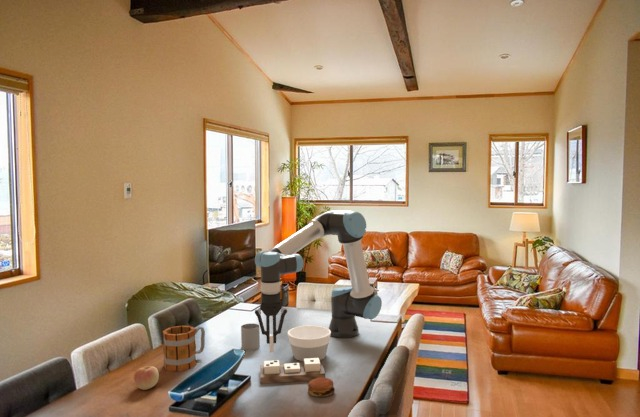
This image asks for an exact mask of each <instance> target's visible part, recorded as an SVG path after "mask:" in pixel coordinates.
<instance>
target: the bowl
mask: <svg viewBox="0 0 640 417" xmlns="http://www.w3.org/2000/svg"><path fill="white" fill-rule="evenodd" d="M286 334H287V336H288V341H289V344H290V348H291V352H292V354H293V358H294V359H295V360H298V361H300V362H304V359H306V358H319V361H322V360H323V359H325V358H326V355H327V352H328V348H329V344H330V343H329V342H330V339H331V331H330V330H329V327H328V328H327V327H324V326H321V325H313V324H312V325H310V324H308V325H299V326H296V327H295V326H294V327H293V328H290V329H288V331H287V333H286Z"/></svg>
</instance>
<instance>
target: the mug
mask: <svg viewBox="0 0 640 417" xmlns="http://www.w3.org/2000/svg"><path fill="white" fill-rule="evenodd" d="M198 331H200V333H201V334H200V348H199V350H196V349H197V344H196V335H197V333H198ZM205 335H206V331H205V328H204V327H203V326H197V327H195V328H194V326H192V325H177V326H170V327H169V326H168V327H167V328H165V329H164V330H162V336H163V346H162V349H163V356H164V357H163V367H164V369H165V370H166V371H169V372H182V371H188V370H190V369H192V368H194V367H195V366H197V360H196V357H197V356H196V355H198V354H201V353H203V351H204V350H205V349H204V348H205V344H206V343H205V338H206V336H205Z"/></svg>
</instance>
